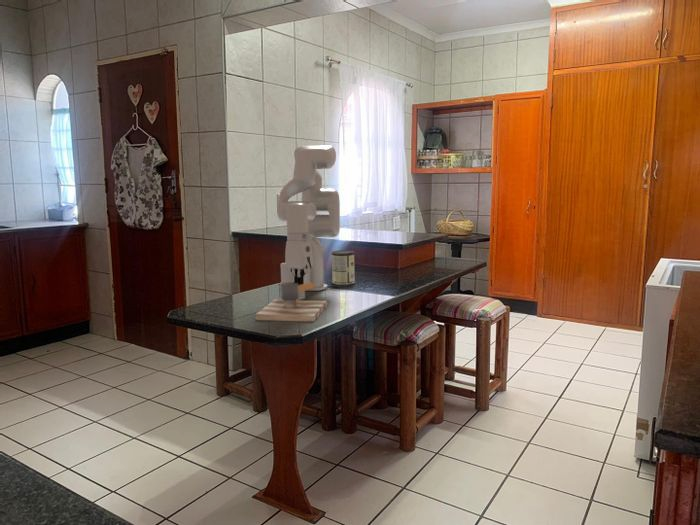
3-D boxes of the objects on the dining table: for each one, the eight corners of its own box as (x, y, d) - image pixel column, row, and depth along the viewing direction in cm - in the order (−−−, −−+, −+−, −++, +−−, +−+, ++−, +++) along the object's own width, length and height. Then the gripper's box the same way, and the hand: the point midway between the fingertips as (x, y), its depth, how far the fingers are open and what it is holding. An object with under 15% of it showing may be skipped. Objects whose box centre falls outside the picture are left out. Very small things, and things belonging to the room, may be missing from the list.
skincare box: (293, 302, 207) (292, 264, 204) (280, 301, 210) (279, 263, 207) (305, 298, 214) (304, 261, 212) (293, 296, 217) (292, 260, 214)
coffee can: (333, 280, 250) (333, 250, 248) (355, 280, 249) (355, 250, 247) (330, 284, 240) (330, 253, 238) (353, 284, 239) (353, 253, 237)
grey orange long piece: (289, 300, 187) (289, 286, 186) (277, 298, 190) (277, 284, 190) (317, 293, 197) (317, 280, 196) (305, 291, 201) (305, 278, 200)
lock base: (274, 304, 204) (274, 291, 203) (326, 306, 201) (326, 292, 200) (255, 320, 182) (255, 305, 181) (314, 321, 179) (313, 306, 178)
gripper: (320, 237, 193) (321, 288, 196) (290, 235, 202) (291, 283, 205) (305, 239, 187) (306, 291, 190) (275, 237, 196) (277, 286, 199)
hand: (299, 287), depth 197 cm, fingers closed
